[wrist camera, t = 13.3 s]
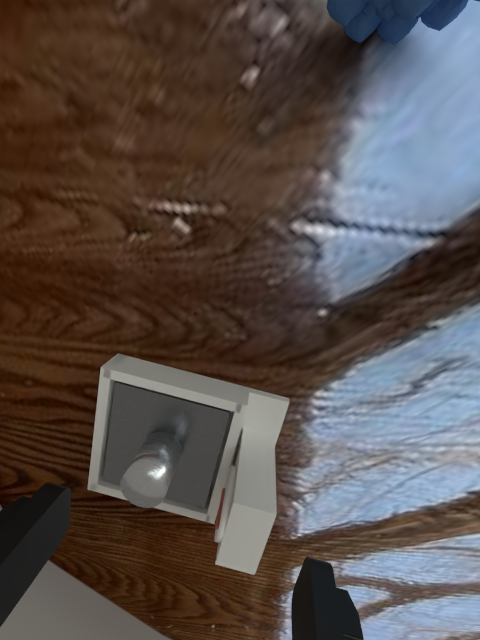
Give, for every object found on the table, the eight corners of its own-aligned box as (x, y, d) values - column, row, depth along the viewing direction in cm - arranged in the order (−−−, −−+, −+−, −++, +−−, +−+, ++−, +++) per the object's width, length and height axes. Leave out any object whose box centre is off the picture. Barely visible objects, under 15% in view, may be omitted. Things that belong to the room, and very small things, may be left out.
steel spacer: (185, 437, 35) (169, 477, 30) (178, 469, 37) (161, 512, 31) (147, 427, 36) (123, 464, 30) (141, 458, 37) (117, 500, 31)
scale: (288, 398, 37) (298, 472, 25) (253, 506, 42) (247, 609, 31) (118, 353, 37) (51, 406, 26) (103, 466, 42) (42, 552, 31)
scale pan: (230, 406, 35) (229, 412, 34) (206, 500, 39) (204, 508, 38) (120, 377, 35) (115, 382, 34) (107, 473, 40) (102, 480, 38)
